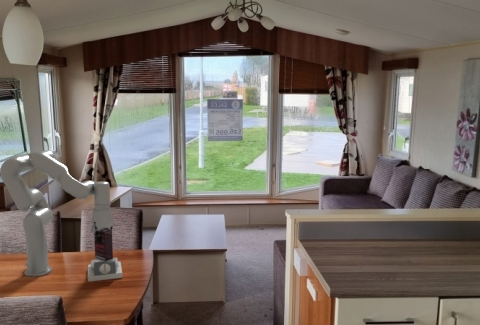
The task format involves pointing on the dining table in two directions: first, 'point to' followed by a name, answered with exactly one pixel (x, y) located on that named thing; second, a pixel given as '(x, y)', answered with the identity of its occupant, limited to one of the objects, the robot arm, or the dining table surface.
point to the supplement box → (104, 246)
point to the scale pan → (102, 261)
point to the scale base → (104, 271)
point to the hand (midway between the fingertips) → (103, 241)
